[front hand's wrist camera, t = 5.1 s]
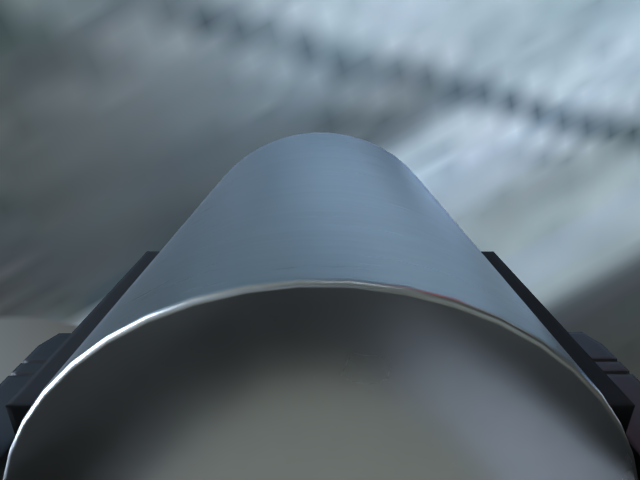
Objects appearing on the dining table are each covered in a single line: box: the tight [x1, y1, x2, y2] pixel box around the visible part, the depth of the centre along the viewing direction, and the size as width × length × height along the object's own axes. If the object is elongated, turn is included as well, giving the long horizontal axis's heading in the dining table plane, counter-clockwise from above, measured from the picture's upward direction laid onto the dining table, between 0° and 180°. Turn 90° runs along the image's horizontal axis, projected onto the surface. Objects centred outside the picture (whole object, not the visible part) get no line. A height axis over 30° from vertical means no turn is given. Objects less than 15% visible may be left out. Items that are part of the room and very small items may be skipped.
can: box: [3, 133, 638, 480], centre depth 12 cm, size 9×9×11 cm
